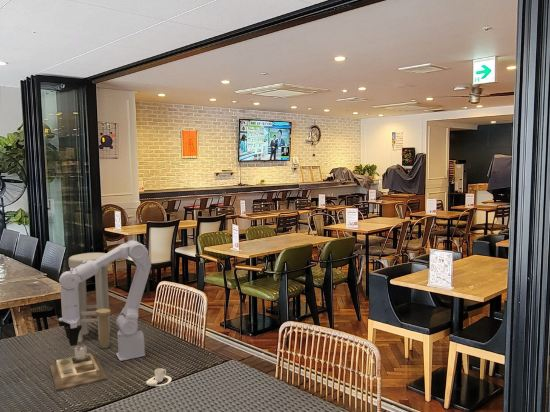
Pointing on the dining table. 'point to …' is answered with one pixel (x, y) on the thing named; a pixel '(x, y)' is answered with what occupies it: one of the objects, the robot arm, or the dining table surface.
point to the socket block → (76, 372)
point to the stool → (82, 295)
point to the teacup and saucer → (158, 378)
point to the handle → (104, 327)
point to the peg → (80, 354)
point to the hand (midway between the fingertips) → (72, 341)
